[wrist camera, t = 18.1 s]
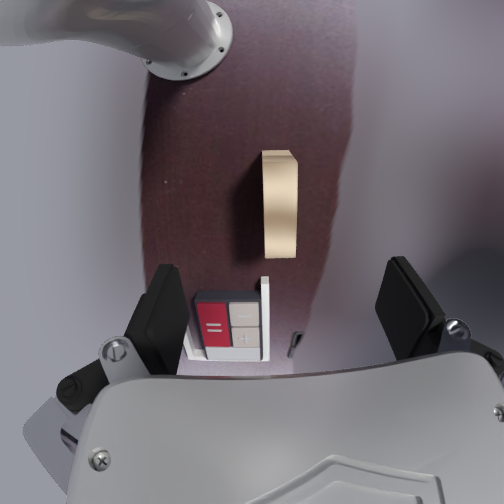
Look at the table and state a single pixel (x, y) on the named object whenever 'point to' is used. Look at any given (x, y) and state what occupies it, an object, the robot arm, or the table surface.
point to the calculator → (230, 324)
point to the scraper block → (280, 203)
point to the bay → (200, 354)
